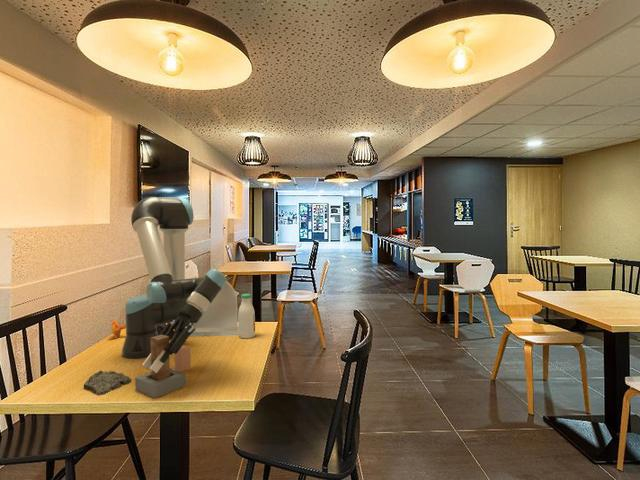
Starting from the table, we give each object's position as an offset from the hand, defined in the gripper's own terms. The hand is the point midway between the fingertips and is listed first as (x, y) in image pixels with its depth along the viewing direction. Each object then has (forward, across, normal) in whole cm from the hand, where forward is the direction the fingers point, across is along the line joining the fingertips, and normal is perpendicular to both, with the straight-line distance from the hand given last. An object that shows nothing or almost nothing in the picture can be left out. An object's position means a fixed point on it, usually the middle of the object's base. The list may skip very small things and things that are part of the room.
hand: (149, 368), depth 123 cm
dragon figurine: (-14, +62, -25) cm, 69 cm away
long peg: (+1, 0, -6) cm, 6 cm away
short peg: (-7, +9, -17) cm, 21 cm away
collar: (+3, 0, -8) cm, 8 cm away
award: (-31, +40, -41) cm, 65 cm away
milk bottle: (-36, +23, -46) cm, 63 cm away
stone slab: (+11, +18, -1) cm, 21 cm away
